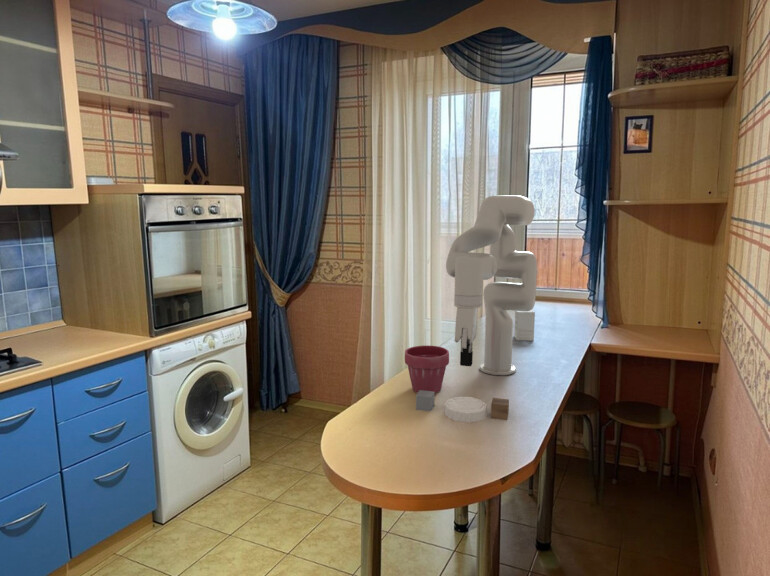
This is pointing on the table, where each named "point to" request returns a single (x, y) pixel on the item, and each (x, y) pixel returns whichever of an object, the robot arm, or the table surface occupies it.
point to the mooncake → (465, 409)
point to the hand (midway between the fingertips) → (466, 365)
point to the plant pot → (426, 367)
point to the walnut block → (500, 408)
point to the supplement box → (524, 325)
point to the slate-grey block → (425, 400)
